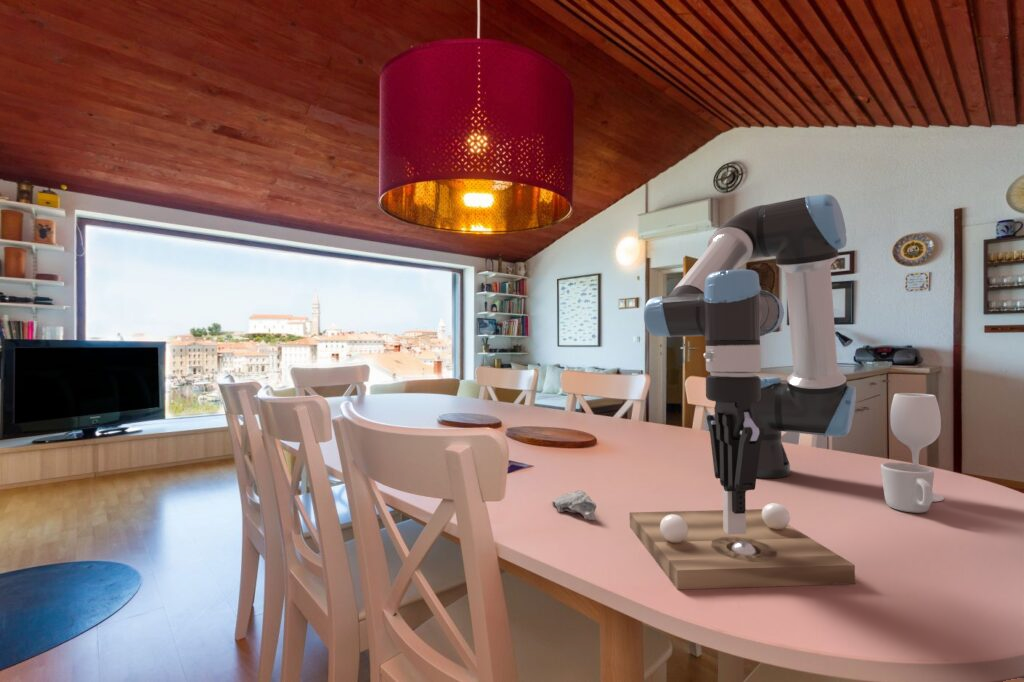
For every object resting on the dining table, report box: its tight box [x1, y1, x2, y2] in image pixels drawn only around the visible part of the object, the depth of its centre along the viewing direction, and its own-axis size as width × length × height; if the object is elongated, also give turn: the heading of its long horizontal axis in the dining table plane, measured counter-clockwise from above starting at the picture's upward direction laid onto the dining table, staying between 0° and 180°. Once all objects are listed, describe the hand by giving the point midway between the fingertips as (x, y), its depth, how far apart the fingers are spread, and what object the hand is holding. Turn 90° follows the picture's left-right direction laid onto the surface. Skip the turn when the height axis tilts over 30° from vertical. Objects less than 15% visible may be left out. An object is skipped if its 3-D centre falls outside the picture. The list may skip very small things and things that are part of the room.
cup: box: [880, 462, 935, 514], centre depth 92 cm, size 11×8×8 cm
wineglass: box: [889, 392, 945, 503], centre depth 102 cm, size 9×9×21 cm
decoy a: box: [762, 502, 791, 530], centre depth 78 cm, size 4×4×4 cm
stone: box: [551, 489, 597, 521], centre depth 94 cm, size 6×12×4 cm, turn 8°
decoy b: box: [660, 514, 688, 543], centre depth 73 cm, size 4×4×4 cm
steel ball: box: [731, 541, 757, 555], centre depth 70 cm, size 4×4×4 cm
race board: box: [629, 508, 856, 590], centre depth 75 cm, size 22×24×2 cm
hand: (734, 532), depth 73 cm, fingers closed
